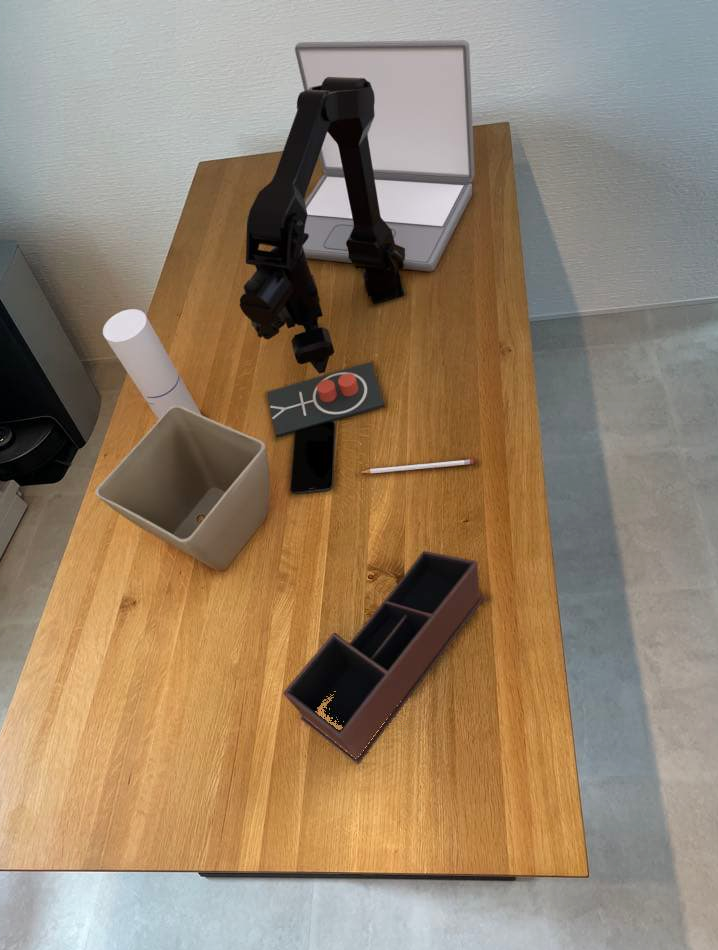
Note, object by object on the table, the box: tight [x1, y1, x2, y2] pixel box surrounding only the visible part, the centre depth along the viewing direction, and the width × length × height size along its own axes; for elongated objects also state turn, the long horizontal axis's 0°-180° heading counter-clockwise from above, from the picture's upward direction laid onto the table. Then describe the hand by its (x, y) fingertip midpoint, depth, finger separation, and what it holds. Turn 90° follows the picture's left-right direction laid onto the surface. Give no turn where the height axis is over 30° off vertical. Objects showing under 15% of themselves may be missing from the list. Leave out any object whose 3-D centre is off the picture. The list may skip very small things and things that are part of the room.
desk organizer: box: [283, 550, 486, 766], centre depth 91 cm, size 10×29×11 cm, turn 141°
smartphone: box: [289, 421, 337, 495], centre depth 117 cm, size 7×1×15 cm
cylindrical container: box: [102, 308, 202, 421], centre depth 116 cm, size 7×7×25 cm
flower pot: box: [94, 405, 271, 572], centre depth 106 cm, size 19×19×17 cm
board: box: [266, 361, 386, 439], centre depth 123 cm, size 20×11×1 cm, turn 101°
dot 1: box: [317, 380, 337, 402], centre depth 122 cm, size 3×3×2 cm
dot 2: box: [338, 373, 358, 396], centre depth 121 cm, size 3×3×2 cm
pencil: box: [360, 459, 475, 474], centre depth 111 cm, size 1×19×1 cm, turn 88°
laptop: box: [294, 39, 476, 273], centre depth 135 cm, size 36×28×29 cm
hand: (317, 354), depth 119 cm, fingers open, 9 cm apart
